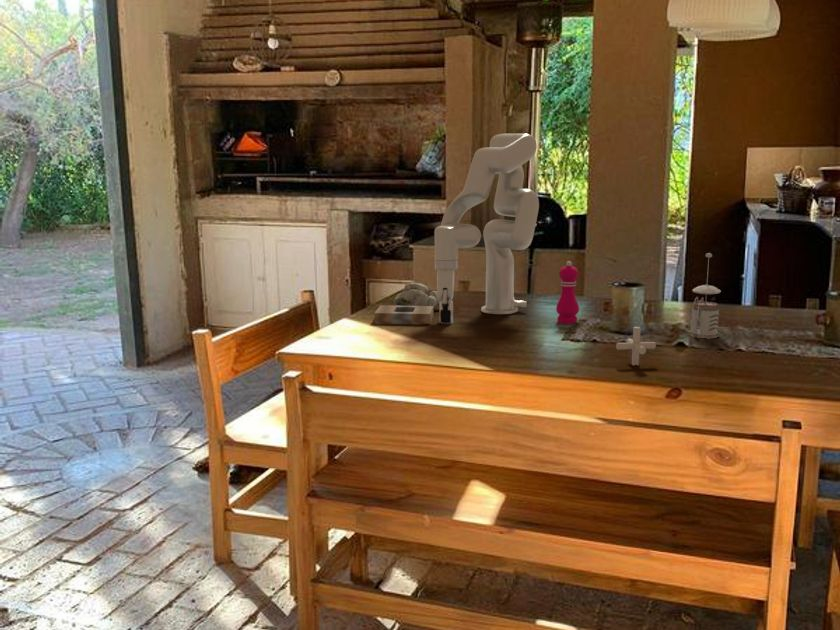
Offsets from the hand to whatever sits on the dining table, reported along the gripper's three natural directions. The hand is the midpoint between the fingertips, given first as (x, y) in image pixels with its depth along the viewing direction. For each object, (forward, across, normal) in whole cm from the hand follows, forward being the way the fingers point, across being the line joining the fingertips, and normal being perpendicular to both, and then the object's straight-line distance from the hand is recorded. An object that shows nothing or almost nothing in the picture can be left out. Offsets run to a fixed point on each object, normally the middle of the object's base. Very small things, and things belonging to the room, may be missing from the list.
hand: (446, 320), depth 269 cm
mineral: (+1, -23, -11) cm, 25 cm away
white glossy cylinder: (+1, 0, 0) cm, 1 cm away
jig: (+1, -4, -14) cm, 14 cm away
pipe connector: (+1, +47, +53) cm, 71 cm away
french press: (+1, +12, +78) cm, 79 cm away
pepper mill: (+1, -4, +39) cm, 39 cm away
